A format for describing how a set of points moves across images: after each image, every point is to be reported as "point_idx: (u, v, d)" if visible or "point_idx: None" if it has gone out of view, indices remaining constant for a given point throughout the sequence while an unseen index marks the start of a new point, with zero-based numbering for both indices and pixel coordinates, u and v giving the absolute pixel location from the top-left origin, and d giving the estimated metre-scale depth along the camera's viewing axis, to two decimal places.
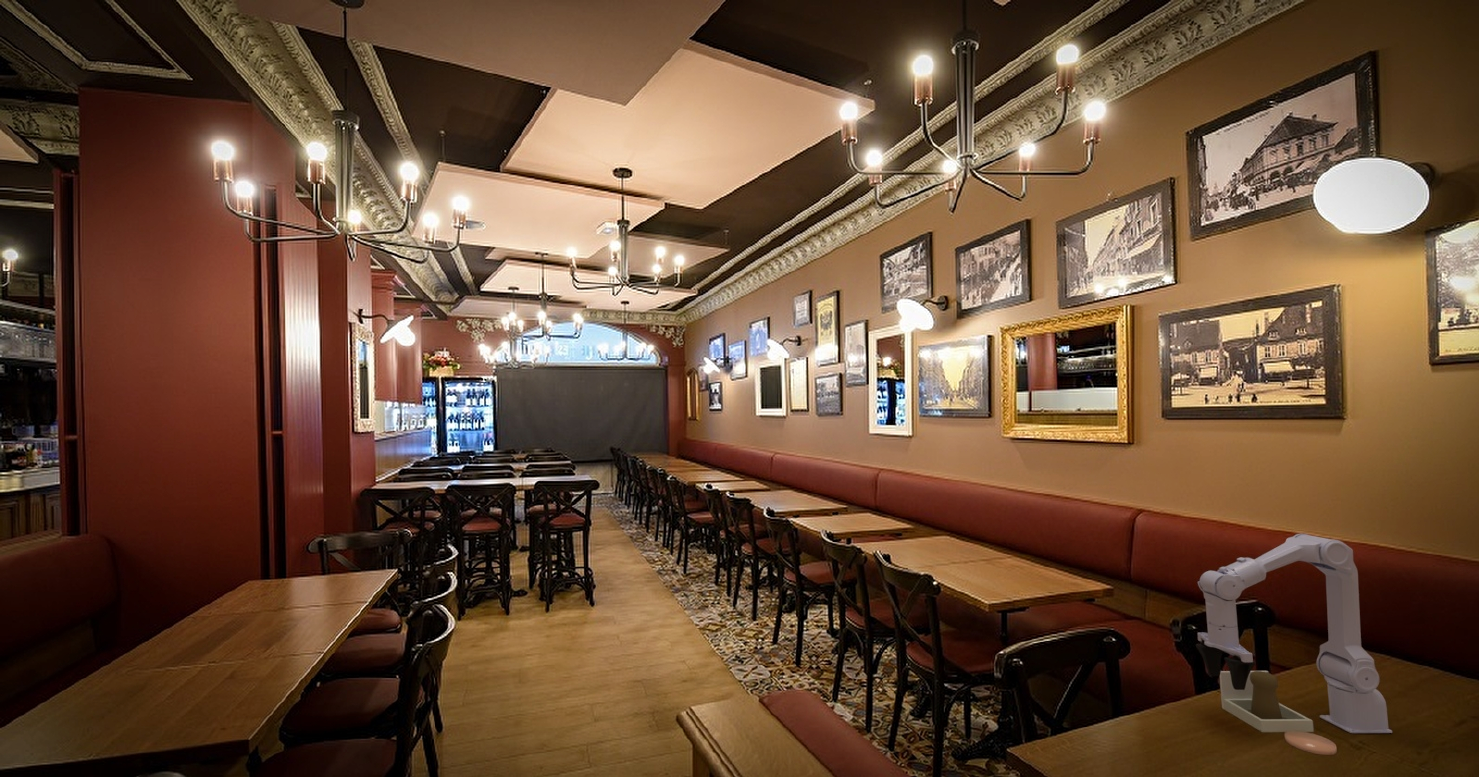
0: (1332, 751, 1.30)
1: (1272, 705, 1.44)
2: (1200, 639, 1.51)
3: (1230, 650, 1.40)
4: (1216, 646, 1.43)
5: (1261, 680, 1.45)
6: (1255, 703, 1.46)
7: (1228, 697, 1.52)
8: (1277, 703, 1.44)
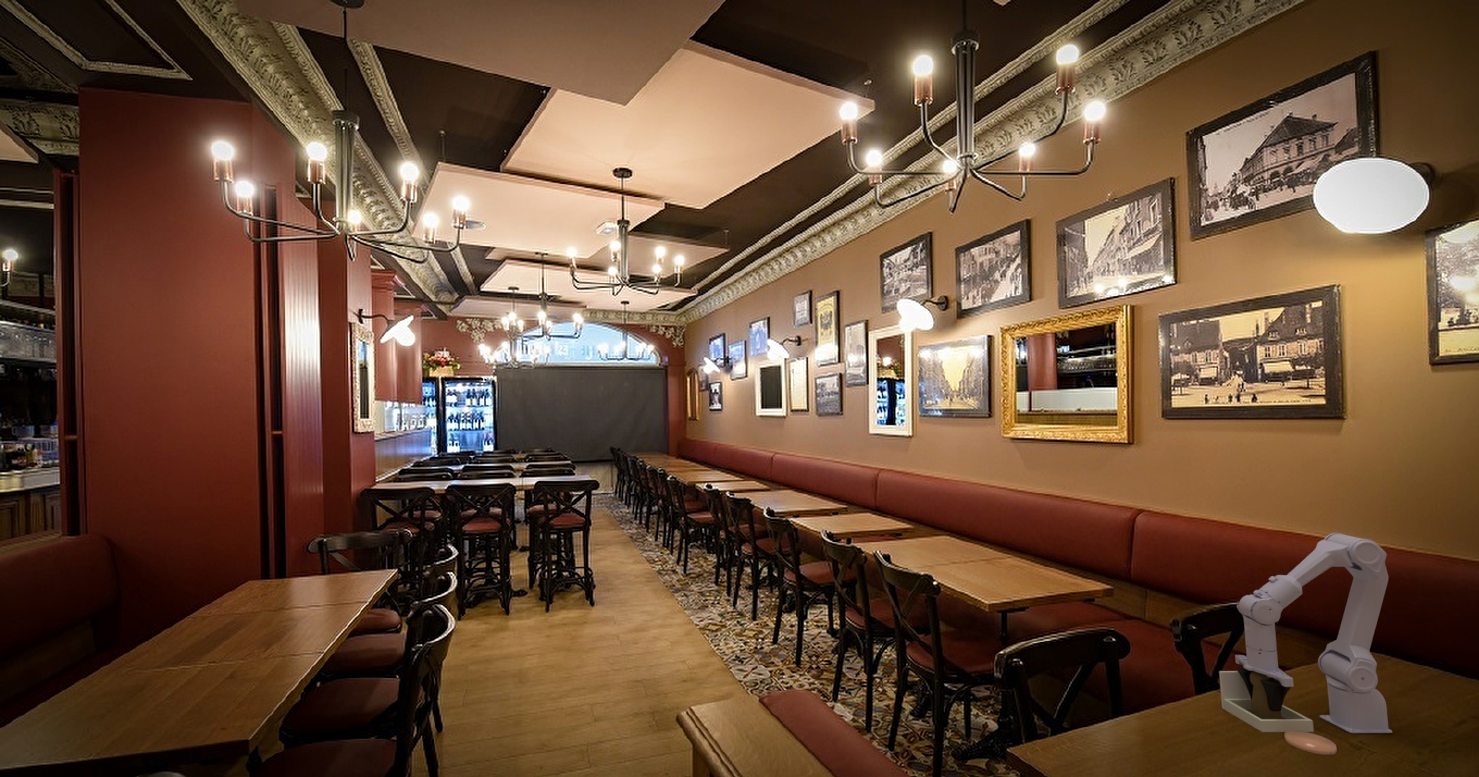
0: (1332, 751, 1.30)
1: None
2: (1238, 662, 1.53)
3: (1270, 674, 1.42)
4: (1256, 670, 1.45)
5: (1261, 679, 1.45)
6: (1255, 702, 1.46)
7: (1228, 697, 1.52)
8: None
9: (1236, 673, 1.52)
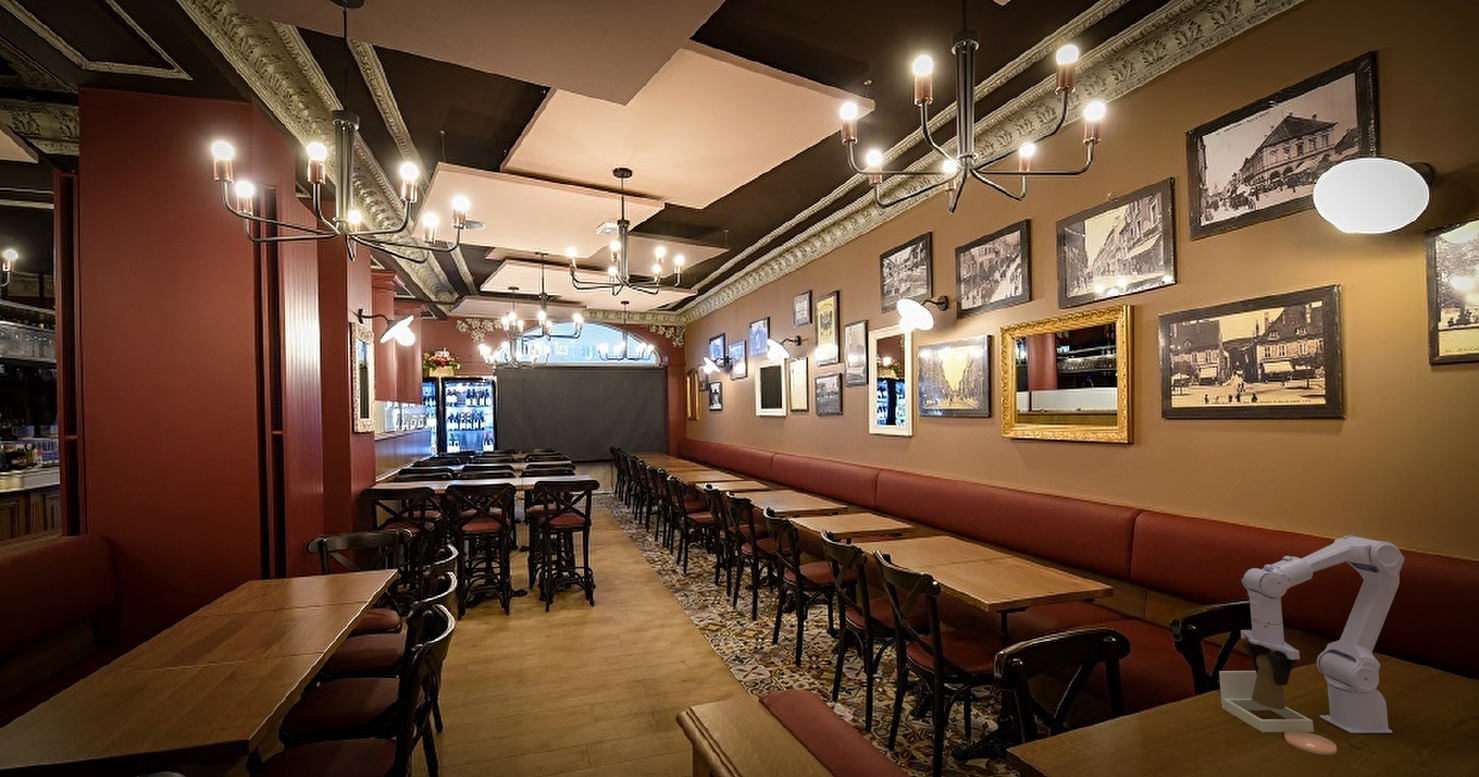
0: (1332, 751, 1.30)
1: (1276, 688, 1.42)
2: (1243, 636, 1.51)
3: (1276, 647, 1.41)
4: (1261, 643, 1.44)
5: (1268, 662, 1.43)
6: (1258, 684, 1.44)
7: (1228, 697, 1.52)
8: (1281, 687, 1.42)
9: (1236, 673, 1.52)
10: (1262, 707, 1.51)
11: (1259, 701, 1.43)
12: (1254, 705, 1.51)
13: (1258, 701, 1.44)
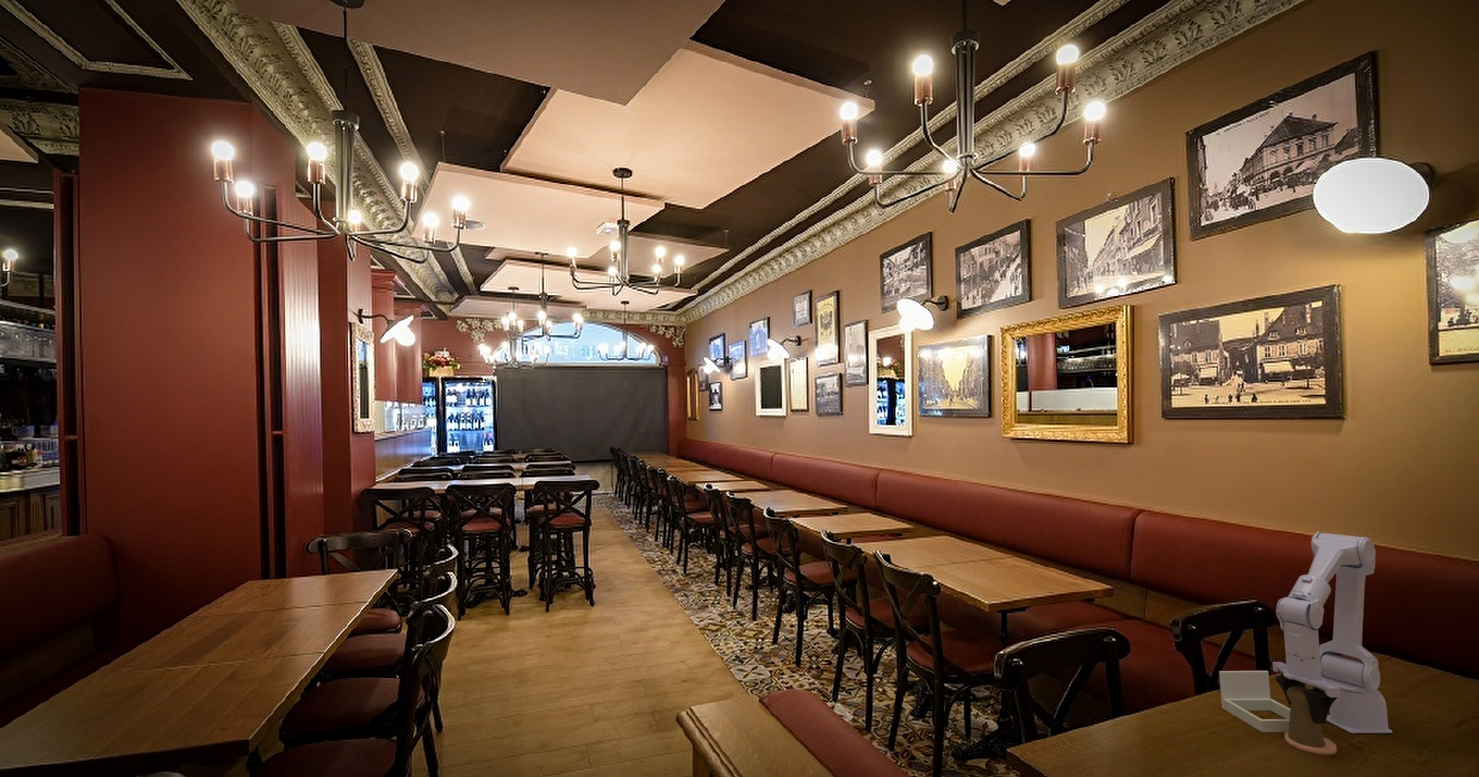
0: (1332, 751, 1.30)
1: (1312, 723, 1.32)
2: (1276, 669, 1.42)
3: (1314, 683, 1.31)
4: (1297, 678, 1.34)
5: (1300, 695, 1.34)
6: (1293, 721, 1.35)
7: (1228, 697, 1.52)
8: None
9: (1236, 673, 1.52)
10: (1262, 707, 1.51)
11: (1297, 739, 1.33)
12: (1254, 705, 1.51)
13: (1296, 739, 1.34)
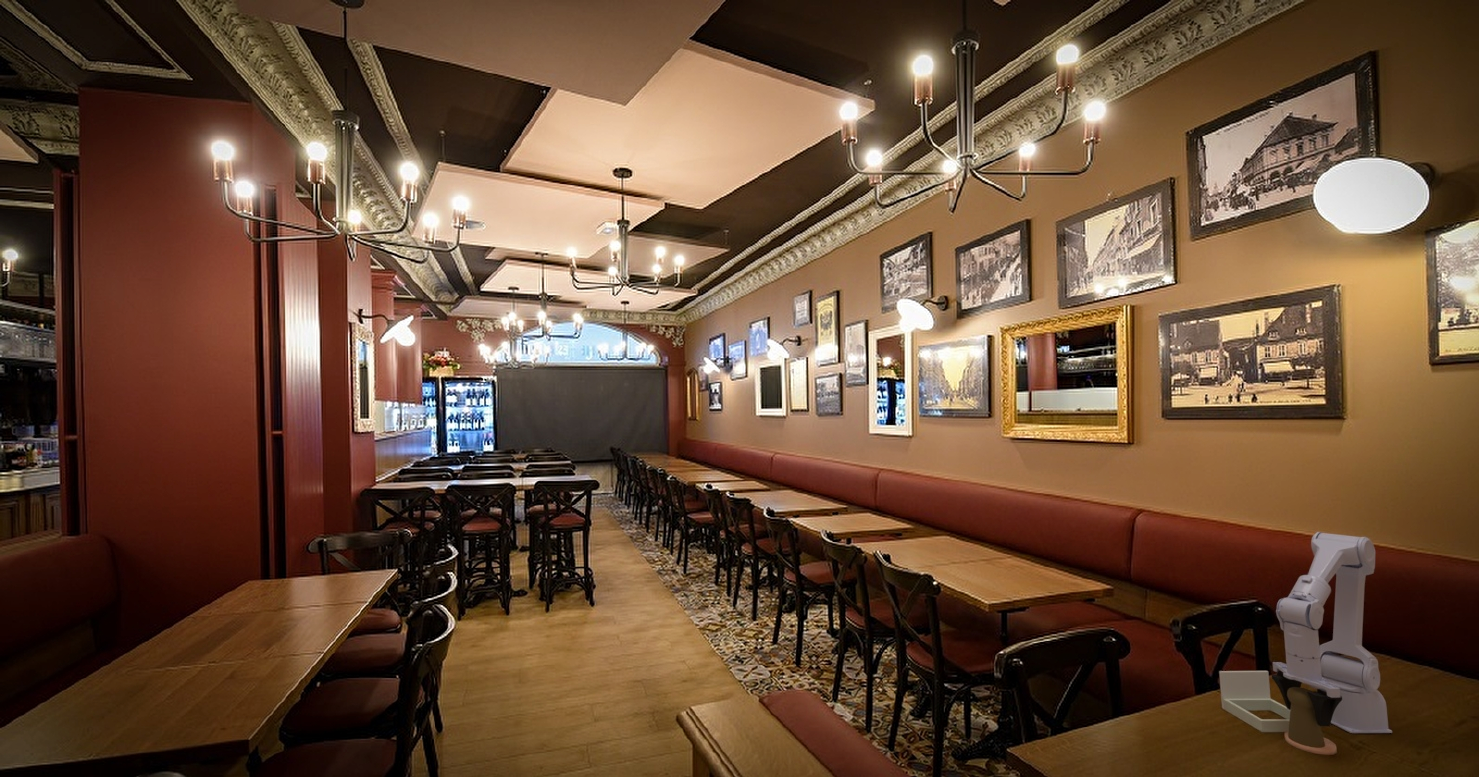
0: (1332, 751, 1.30)
1: (1312, 724, 1.32)
2: (1276, 669, 1.42)
3: (1314, 684, 1.31)
4: (1297, 679, 1.34)
5: (1300, 697, 1.33)
6: (1293, 722, 1.35)
7: (1228, 697, 1.52)
8: None
9: (1236, 673, 1.52)
10: (1262, 707, 1.51)
11: (1297, 740, 1.33)
12: (1254, 705, 1.51)
13: (1296, 740, 1.34)
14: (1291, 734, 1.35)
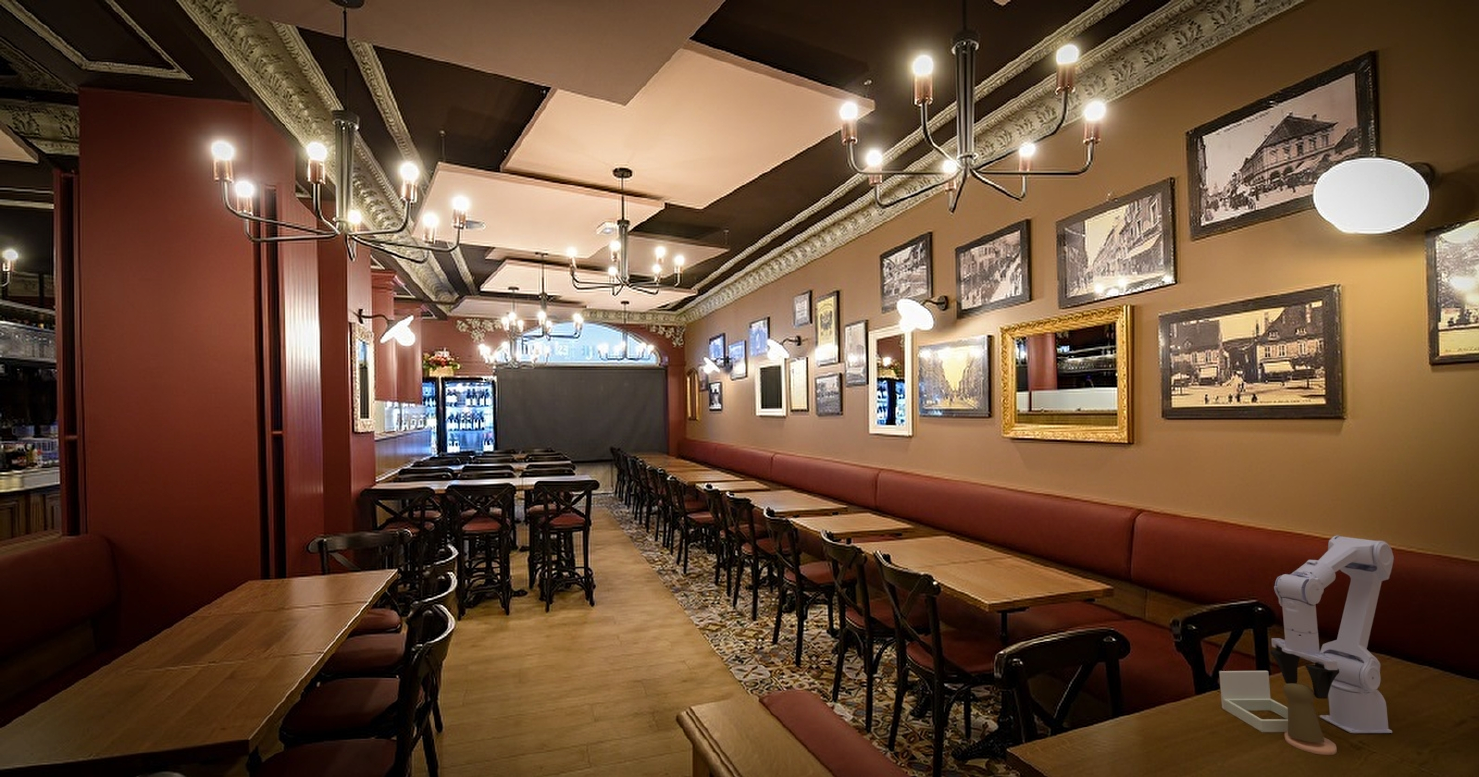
0: (1332, 751, 1.30)
1: (1310, 718, 1.33)
2: (1274, 645, 1.45)
3: (1312, 657, 1.34)
4: (1295, 653, 1.37)
5: (1295, 690, 1.35)
6: (1291, 717, 1.35)
7: (1228, 697, 1.52)
8: (1315, 717, 1.33)
9: (1236, 673, 1.52)
10: (1262, 707, 1.51)
11: (1296, 736, 1.34)
12: (1254, 705, 1.51)
13: (1295, 736, 1.34)
14: (1290, 731, 1.35)
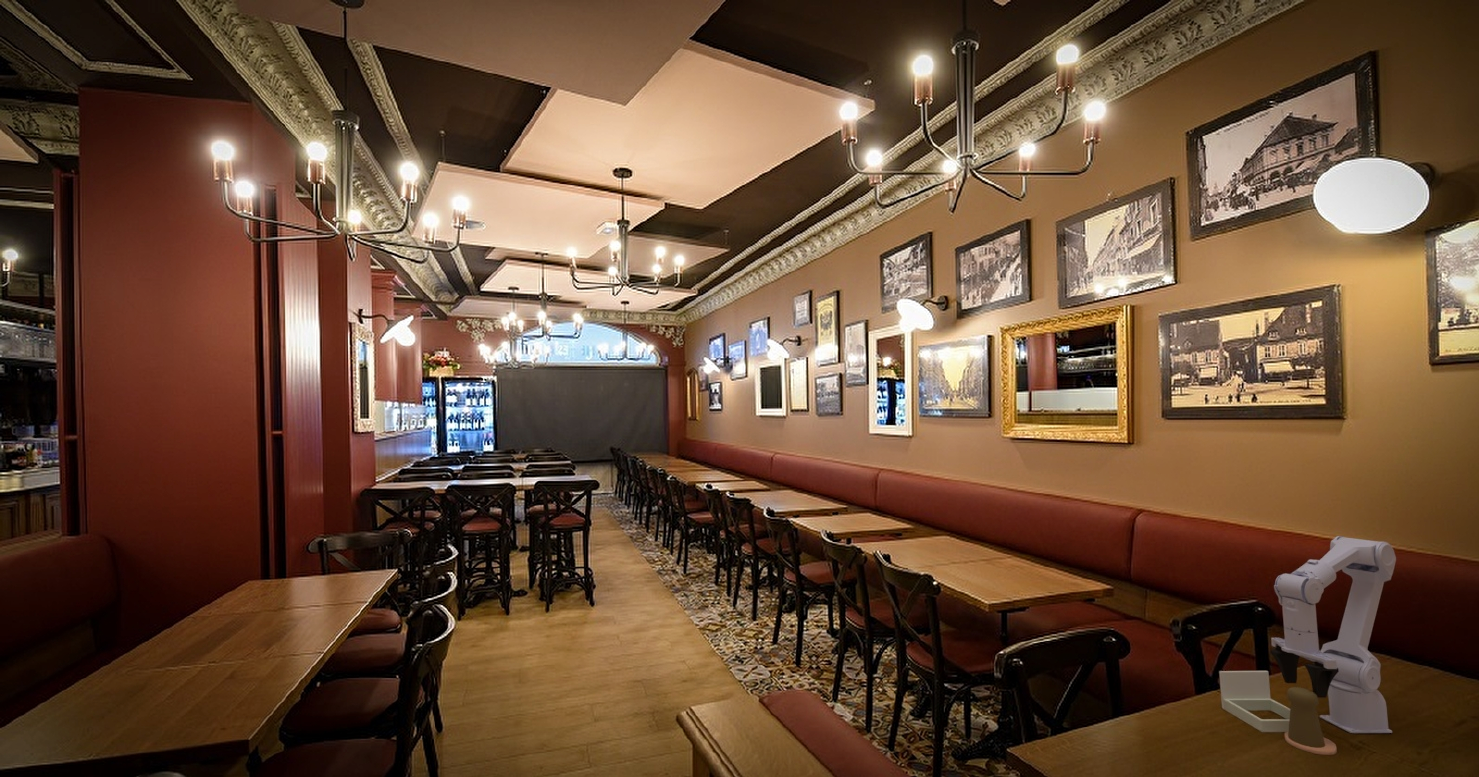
0: (1332, 751, 1.30)
1: (1312, 724, 1.32)
2: (1274, 644, 1.45)
3: (1311, 656, 1.35)
4: (1295, 652, 1.38)
5: (1300, 697, 1.33)
6: (1293, 722, 1.35)
7: (1228, 697, 1.52)
8: (1318, 722, 1.32)
9: (1236, 673, 1.52)
10: (1262, 707, 1.51)
11: (1297, 740, 1.33)
12: (1254, 705, 1.51)
13: (1295, 740, 1.34)
14: (1291, 734, 1.35)
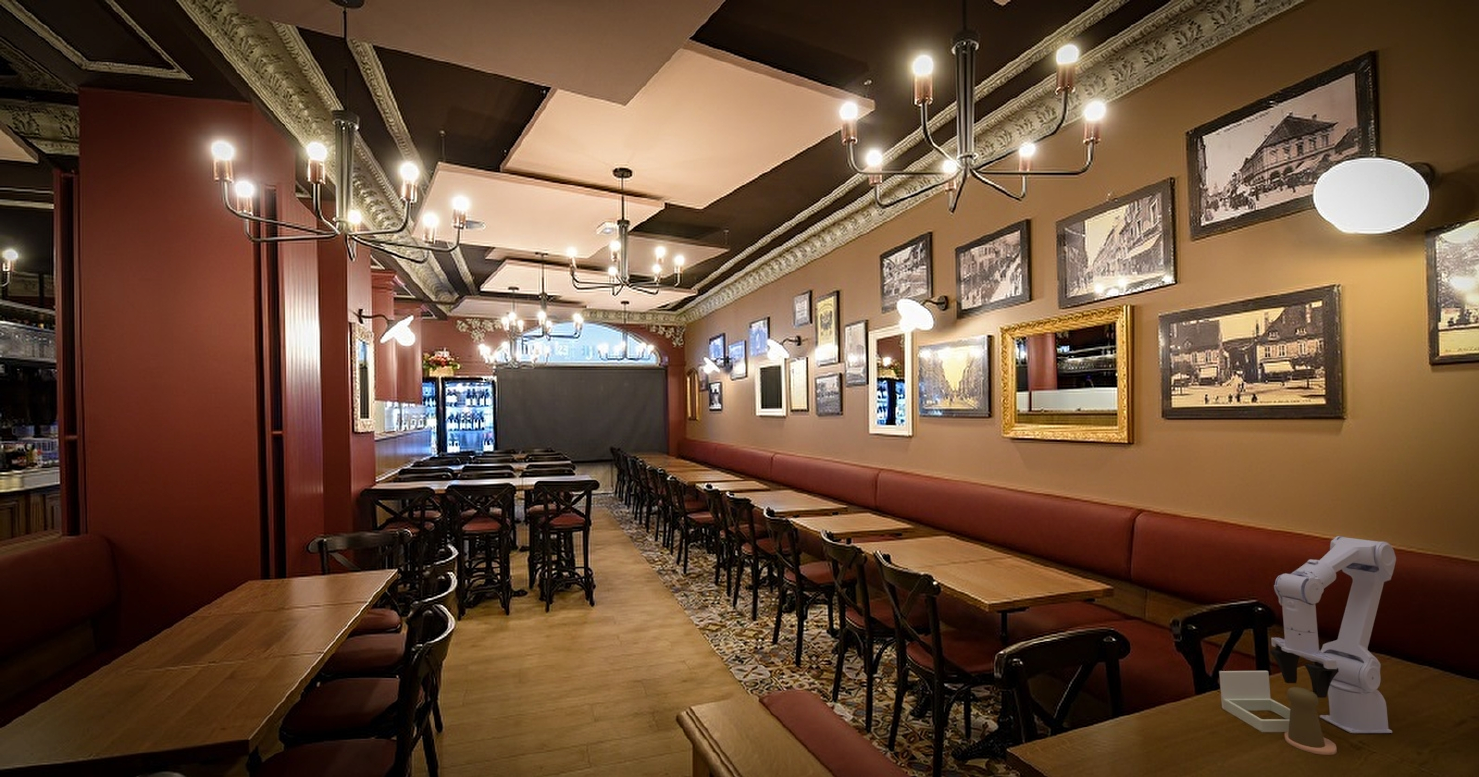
0: (1332, 751, 1.30)
1: (1312, 724, 1.32)
2: (1274, 644, 1.45)
3: (1311, 656, 1.35)
4: (1295, 652, 1.38)
5: (1300, 697, 1.33)
6: (1293, 722, 1.35)
7: (1228, 697, 1.52)
8: (1318, 722, 1.32)
9: (1236, 673, 1.52)
10: (1262, 707, 1.51)
11: (1297, 740, 1.33)
12: (1254, 705, 1.51)
13: (1295, 740, 1.34)
14: (1291, 734, 1.35)
